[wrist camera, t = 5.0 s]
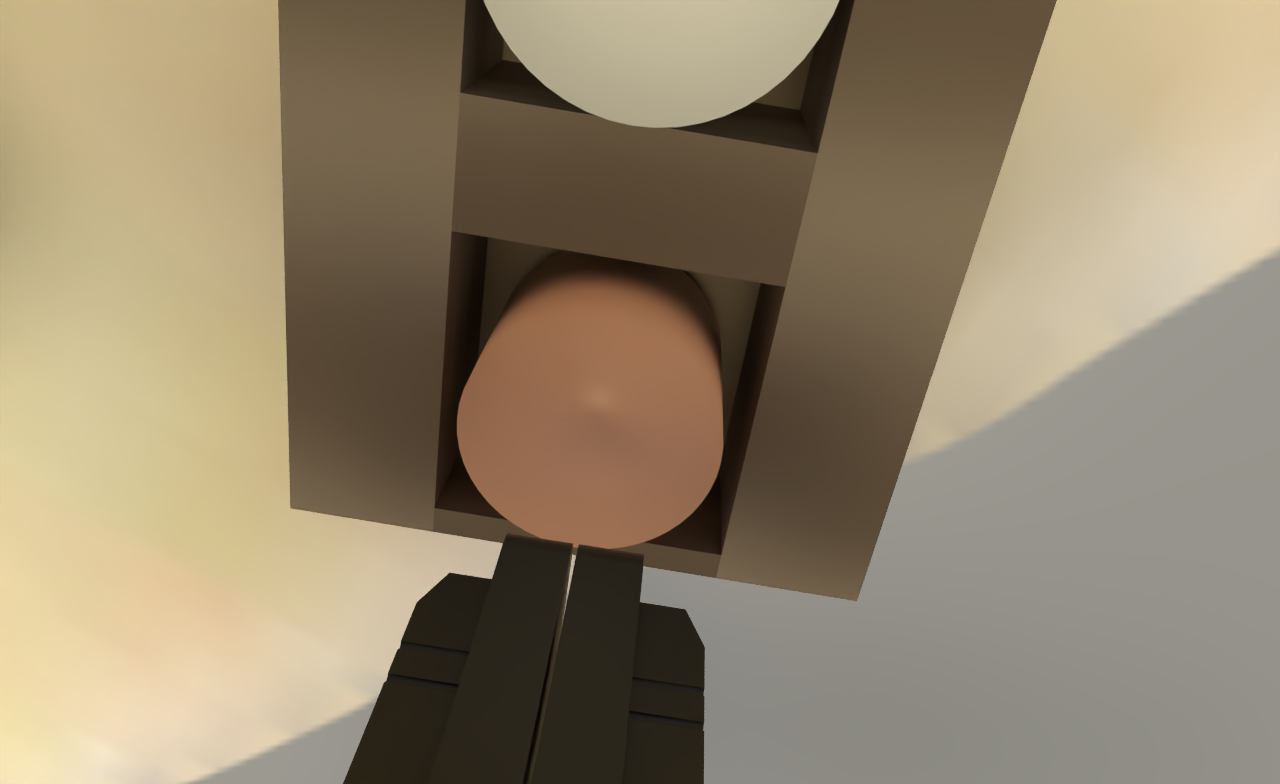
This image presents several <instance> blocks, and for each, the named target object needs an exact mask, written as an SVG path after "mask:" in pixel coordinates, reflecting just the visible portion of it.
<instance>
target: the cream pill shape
mask: <svg viewBox="0 0 1280 784" xmlns="http://www.w3.org/2000/svg"><path fill="white" fill-rule="evenodd" d="M838 2H839V0H484V3H485V5H486V7H487V9H488V11H489V13H490V15H491V17H492V19H493V21H494V23H495V25H496V27H497V29H498V31H499V32H500V34H501V35H502V37H503V38H504V40H505V41H506V43H507V44H508V46H509V47H510V49H511V50H512V51H513V53H514V54H515V55H516V56H517V57H518V59H519V60H520V61H521V62H522V63H523V65H524V66H525V67H526V68H527V69H528V70H529V71H530V72H531V73H532V74H533V75H534V76H535V77H536V78H537V79H539V80H540V81H541V82H542V83H543V84H544V85H545V86H546V87H548V88H549V89H550V90H552V91H553V92H555V93H556V94H557V95H559V96H560V97H562V98H563V99H564V100H566V101H568V102H569V103H571V104H573V105H575V106H577V107H579V108H581V109H582V110H584V111H586V112H589V113H591V114H594V115H597V116H599V117H602V118H604V119H607V120H610V121H614V122H619V123H623V124H627V125H631V126H641V127H651V128H666V127H682V126H688V125H694V124H700V123H704V122H707V121H710V120H713V119H717V118H720V117H723V116H726V115H728V114H730V113H732V112H734V111H737V110H739V109H741V108H743V107H745V106H747V105H749V104H750V103H752V102H754V101H755V100H757V99H758V98H760V97H762V96H763V95H765V94H766V93H768V92H769V91H770V90H771V89H773V88H774V87H775V86H776V85H778V84H779V83H780V82H781V81H783V80H784V79H785V78H786V77H787V76H788V75H789V74H790V73H791V72H792V71H793V70H794V69H795V68H796V67H797V66H798V65H799V64H800V63H801V62H802V61H803V60H804V58H805V57H806V56H807V54H808V53H809V52H810V50H811V49H812V48H813V46H814V45H815V44H816V42H817V41H818V40H819V38H820V37H821V35H822V33H823V31H824V30H825V28H826V26H827V25H828V23H829V21H830V19H831V18H832V16H833V14H834V12H835V9H836V7H837V5H838Z"/></svg>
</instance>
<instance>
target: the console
mask: <svg viewBox="0 0 1280 784" xmlns="http://www.w3.org/2000/svg"><path fill="white" fill-rule="evenodd" d="M1056 1H1057V0H839V2H838V5H837V7H836V9H835V12H834V14H833V16H832V18H831V19H830V21H829V23H828V25H827V26H826V28H825V30H824V31H823V33H822V35H821V37H820V38H819V40H818V41H817V42H816V44H815V45H814V46H813V48H812V49H811V50H810V52H809V53H808V54H807V56H806V57H805V58H804V60H803V61H802V62H801V63H800V64H799V65H798V66H797V67H796V68H795V69H794V70H793V71H792V72H791V73H790V74H789V75H788V76H787V77H786V78H785V79H784V80H783V81H781V82H780V83H779V84H778V85H776V86H775V87H774V88H773V89H771V90H770V91H769V92H768V93H766V94H765V95H763V96H762V97H760V98H758V99H757V100H755V101H754V102H752V103H750V104H749V105H747V106H745V107H743V108H741V109H739V110H737V111H734V112H732V113H730V114H728V115H726V116H723V117H720V118H717V119H713V120H710V121H707V122H704V123H700V124H694V125H688V126H682V127H666V128H651V127H641V126H631V125H627V124H623V123H619V122H614V121H610V120H607V119H604V118H602V117H599V116H597V115H594V114H591V113H589V112H586V111H584V110H582V109H581V108H579V107H577V106H575V105H573V104H571V103H569V102H568V101H566V100H564V99H563V98H562V97H560V96H559V95H557V94H556V93H555V92H553V91H552V90H550V89H549V88H548V87H546V86H545V85H544V84H543V83H542V82H541V81H540V80H539V79H537V78H536V77H535V76H534V75H533V74H532V73H531V72H530V71H529V70H528V69H527V68H526V67H525V66H524V65H523V63H522V62H521V61H520V60H519V59H518V57H517V56H516V55H515V54H514V53H513V51H512V50H511V49H510V47H509V46H508V44H507V43H506V41H505V40H504V38H503V37H502V35H501V34H500V32H499V31H498V29H497V27H496V25H495V23H494V21H493V19H492V17H491V15H490V13H489V11H488V9H487V7H486V5H485V3H484V0H278V7H279V49H280V90H281V132H282V173H283V214H284V256H285V297H286V339H287V380H288V422H289V463H290V505H291V508H293V509H299V510H305V511H311V512H317V513H323V514H329V515H335V516H341V517H347V518H354V519H360V520H366V521H372V522H378V523H384V524H390V525H396V526H402V527H408V528H414V529H421V530H427V531H433V532H439V533H445V534H451V535H457V536H463V537H469V538H475V539H482V540H488V541H494V542H500V543H504V540H505V537H506V535H507V534H508V533H510V534H516V535H523V536H529V537H535V538H539V537H537V536H535V535H533V534H531V533H528V532H526V531H525V530H523V529H521V528H520V527H518V526H516V525H515V524H513V523H512V522H510V521H509V520H508V519H506V518H505V517H504V516H502V515H501V514H500V513H499V512H498V511H497V510H496V509H494V508H493V507H492V506H491V505H490V504H489V503H488V502H487V500H486V499H485V498H484V497H483V496H482V494H481V493H480V492H479V491H478V489H477V487H476V486H475V484H474V483H473V481H472V480H471V478H470V476H469V474H468V472H467V469H466V467H465V465H464V463H463V459H462V456H461V453H460V450H459V444H458V437H457V415H458V408H459V403H460V400H461V396H462V393H463V390H464V388H465V386H466V384H467V382H468V380H469V377H470V375H471V373H472V371H473V369H474V367H475V365H476V363H477V361H478V359H479V357H480V355H481V353H482V351H483V349H484V348H485V346H486V344H487V342H488V340H489V338H490V336H491V334H492V332H493V330H494V328H495V326H496V324H497V322H498V320H499V318H500V316H501V314H502V312H503V310H504V308H505V306H506V304H507V302H508V300H509V298H510V296H511V294H512V292H513V291H514V289H515V288H516V286H517V285H518V284H519V282H520V281H521V280H522V279H523V278H524V277H525V276H526V275H527V274H528V273H529V272H530V271H531V270H532V269H533V268H535V267H536V266H537V265H538V264H540V263H541V262H543V261H545V260H546V259H548V258H549V257H551V256H553V255H555V254H558V253H560V252H562V251H565V250H567V251H573V252H579V253H585V254H591V255H597V256H603V257H609V258H615V259H621V260H627V261H633V262H639V263H645V264H651V265H657V266H663V267H669V268H674V269H680V270H682V271H683V272H684V273H685V274H686V275H687V276H689V277H690V278H691V279H692V280H693V281H694V283H695V284H696V285H697V286H698V287H699V288H700V290H701V291H702V292H703V294H704V296H705V297H706V299H707V300H708V302H709V304H710V306H711V308H712V310H713V312H714V314H715V317H716V320H717V324H718V327H719V332H720V338H721V359H722V404H723V453H722V459H721V464H720V468H719V471H718V474H717V477H716V479H715V481H714V483H713V485H712V488H711V490H710V491H709V493H708V494H707V496H706V497H705V499H704V500H703V502H702V503H701V504H700V505H699V506H698V507H697V509H696V510H695V511H694V512H693V513H692V514H691V515H690V516H689V517H687V518H686V519H685V520H684V521H683V522H682V523H680V524H679V525H677V526H676V527H674V528H673V529H671V530H670V531H668V532H666V533H664V534H662V535H660V536H658V537H656V538H654V539H651V540H648V541H645V542H642V543H639V544H636V545H631V546H627V547H622V548H612V549H613V550H620V551H626V552H632V553H639V554H644V562H643V566H646V567H652V568H658V569H665V570H671V571H677V572H683V573H689V574H695V575H701V576H707V577H714V578H719V579H726V580H731V581H738V582H744V583H750V584H756V585H762V586H768V587H774V588H781V589H787V590H793V591H799V592H805V593H811V594H817V595H823V596H829V597H835V598H841V599H848V600H854V601H857V599H858V596H859V593H860V590H861V587H862V584H863V580H864V578H865V575H866V572H867V569H868V566H869V563H870V560H871V557H872V554H873V551H874V548H875V544H876V542H877V539H878V536H879V533H880V530H881V527H882V524H883V520H884V518H885V515H886V512H887V509H888V505H889V503H890V499H891V497H892V493H893V491H894V488H895V485H896V482H897V479H898V475H899V473H900V470H901V467H902V464H903V461H904V458H905V455H906V452H907V449H908V446H909V443H910V440H911V437H912V434H913V431H914V428H915V425H916V422H917V419H918V416H919V413H920V410H921V407H922V404H923V400H924V397H925V394H926V391H927V388H928V385H929V382H930V379H931V376H932V373H933V370H934V367H935V364H936V361H937V358H938V355H939V352H940V349H941V346H942V343H943V340H944V337H945V334H946V331H947V328H948V325H949V322H950V319H951V316H952V313H953V310H954V307H955V304H956V301H957V298H958V295H959V292H960V289H961V286H962V283H963V280H964V277H965V274H966V271H967V268H968V265H969V262H970V259H971V256H972V253H973V250H974V247H975V244H976V241H977V238H978V235H979V232H980V229H981V226H982V223H983V220H984V217H985V214H986V211H987V208H988V205H989V202H990V199H991V196H992V193H993V190H994V187H995V184H996V181H997V178H998V175H999V172H1000V169H1001V166H1002V163H1003V160H1004V157H1005V154H1006V151H1007V148H1008V145H1009V142H1010V139H1011V136H1012V133H1013V130H1014V127H1015V124H1016V121H1017V118H1018V115H1019V112H1020V109H1021V106H1022V103H1023V100H1024V97H1025V94H1026V91H1027V88H1028V85H1029V82H1030V79H1031V76H1032V73H1033V70H1034V67H1035V64H1036V61H1037V58H1038V55H1039V52H1040V49H1041V46H1042V43H1043V40H1044V37H1045V34H1046V31H1047V28H1048V25H1049V22H1050V19H1051V16H1052V13H1053V10H1054V7H1055V4H1056ZM577 550H578V548H575V547H573V551H572V554H573V555H576V554H577Z"/></svg>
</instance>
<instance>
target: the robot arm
mask: <svg viewBox="0 0 1280 784" xmlns="http://www.w3.org/2000/svg"><path fill="white" fill-rule="evenodd" d="M572 551H573V543H567V542H561V541H554V540H548V539H542V538H535V537H529V536H523V535H516V534H510V533H508V534H507V535H506V537H505V540H504V543H503V546H502V549H501V552H500V555H499V559H498V562H497V565H496V568H495V571H494V575H493V578H492V579H486V578H479V577H473V576H467V575H460V574H454V573H449V574H448V575H447V576H446V577H444V578H443V579H442V580H441V581H440V582H439V583H438V584H437V585H436V586H435V587H433V588H432V589H431V590H430V591H429V592H428V593H427V594H426V595H425V596H423V597H422V598H421V599H420V600H419V601H418V602H417V603H416V606H415V608H414V611H413V613H412V616H411V618H410V620H409V623H408V625H407V628H406V630H405V633H404V635H403V638H402V640H401V645H400V649H398V650H397V652H396V655H395V657H394V660H393V662H392V665H391V667H390V670H389V672H388V677H387V681H386V682H384V684H383V687H382V689H381V692H380V694H379V697H378V699H377V702H376V704H375V707H374V709H373V712H372V714H371V717H370V719H369V722H368V724H367V726H366V729H365V731H364V734H363V736H362V739H361V741H360V744H359V746H358V748H357V751H356V753H355V756H354V758H353V761H352V763H351V766H350V768H349V771H348V773H347V776H346V778H345V780H344V783H343V784H704V731H703V725H704V696H703V692H704V659H705V653H704V652H705V648H704V645H703V643H702V641H701V639H700V637H699V635H698V633H697V631H696V629H695V627H694V626H693V623H692V621H691V620H690V618H689V616H688V614H687V612H686V610H685V609H679V608H672V607H666V606H660V605H654V604H647V603H641V602H640V593H641V583H642V573H643V562H644V554H639V553H632V552H626V551H620V550H613V549H607V548H601V547H594V546H588V545H581V544H579V545H578V550H577V554H576V559H575V564H574V570H573V575H572V580H571V585H570V590H569V595H568V600H567V605H566V611H565V615H564V609H565V602H566V594H567V587H568V580H569V573H570V566H571V559H572ZM563 615H564V620H563ZM562 623H563V625H562Z"/></svg>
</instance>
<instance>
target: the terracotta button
mask: <svg viewBox="0 0 1280 784" xmlns="http://www.w3.org/2000/svg"><path fill="white" fill-rule="evenodd" d="M457 437H458V444H459V450H460V453H461V456H462V459H463V463H464V465H465V467H466V469H467V472H468V474H469V476H470V478H471V480H472V481H473V483H474V484H475V486H476V487H477V489H478V491H479V492H480V493H481V494H482V496H483V497H484V498H485V499H486V500H487V502H488V503H489V504H490V505H491V506H492V507H493V508H494V509H496V510H497V511H498V512H499V513H500V514H501V515H502V516H504V517H505V518H506V519H508V520H509V521H510V522H512V523H513V524H515V525H516V526H518V527H520V528H521V529H523V530H525V531H526V532H528V533H531V534H533V535H535V536H537V537H539V538H542V539H548V540H554V541H561V542H567V543H573V547H575V548H578V545H579V544H581V545H588V546H594V547H601V548H607V549H612V548H622V547H627V546H631V545H636V544H639V543H642V542H645V541H648V540H651V539H654V538H656V537H658V536H660V535H662V534H664V533H666V532H668V531H670V530H671V529H673V528H674V527H676V526H677V525H679V524H680V523H682V522H683V521H684V520H685V519H686V518H687V517H689V516H690V515H691V514H692V513H693V512H694V511H695V510H696V509H697V507H698V506H699V505H700V504H701V503H702V502H703V500H704V499H705V497H706V496H707V494H708V493H709V491H710V490H711V488H712V485H713V483H714V481H715V479H716V477H717V474H718V471H719V468H720V464H721V459H722V453H723V404H722V359H721V338H720V332H719V327H718V324H717V320H716V317H715V314H714V312H713V310H712V308H711V306H710V304H709V302H708V300H707V299H706V297H705V296H704V294H703V292H702V291H701V290H700V288H699V287H698V286H697V285H696V284H695V283H694V281H693V280H692V279H691V278H690V277H689V276H687V275H686V274H685V273H684V272H683V271H682V270H680V269H674V268H669V267H663V266H657V265H651V264H645V263H639V262H633V261H627V260H621V259H615V258H609V257H603V256H597V255H591V254H585V253H579V252H573V251H567V250H565V251H562V252H560V253H558V254H555V255H553V256H551V257H549V258H548V259H546V260H545V261H543V262H541V263H540V264H538V265H537V266H536V267H535V268H533V269H532V270H531V271H530V272H529V273H528V274H527V275H526V276H525V277H524V278H523V279H522V280H521V281H520V282H519V284H518V285H517V286H516V288H515V289H514V291H513V292H512V294H511V296H510V298H509V300H508V302H507V304H506V306H505V308H504V310H503V312H502V314H501V316H500V318H499V320H498V322H497V324H496V326H495V328H494V330H493V332H492V334H491V336H490V338H489V340H488V342H487V344H486V346H485V348H484V349H483V351H482V353H481V355H480V357H479V359H478V361H477V363H476V365H475V367H474V369H473V371H472V373H471V375H470V377H469V380H468V382H467V384H466V386H465V388H464V390H463V393H462V396H461V400H460V403H459V408H458V415H457Z"/></svg>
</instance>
